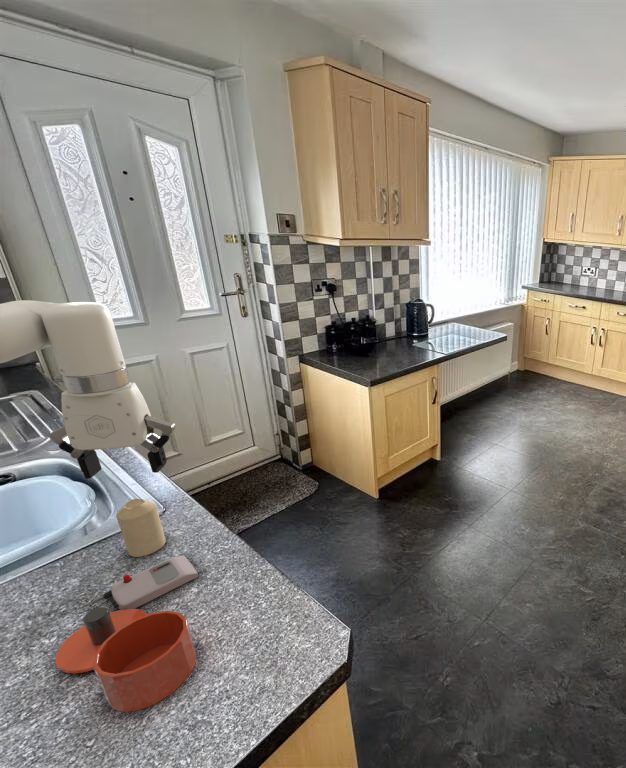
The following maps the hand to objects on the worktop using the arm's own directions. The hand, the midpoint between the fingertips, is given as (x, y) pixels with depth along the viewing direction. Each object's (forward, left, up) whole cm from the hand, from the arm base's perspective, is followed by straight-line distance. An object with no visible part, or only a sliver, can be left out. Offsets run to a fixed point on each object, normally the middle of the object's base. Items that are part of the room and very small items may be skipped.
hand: (127, 471), depth 74 cm
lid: (+4, -21, -16) cm, 27 cm away
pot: (+13, -28, -17) cm, 35 cm away
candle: (-1, 0, -17) cm, 17 cm away
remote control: (+5, -11, -17) cm, 21 cm away
